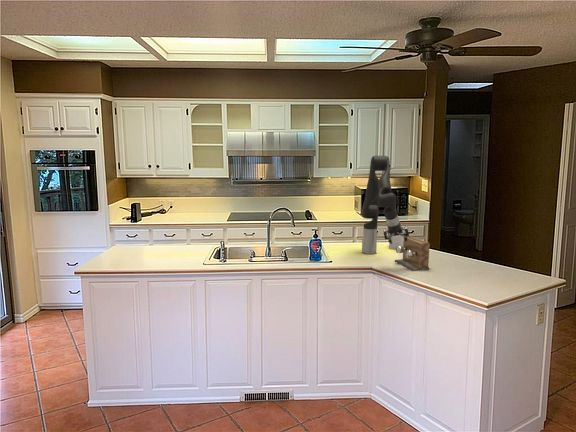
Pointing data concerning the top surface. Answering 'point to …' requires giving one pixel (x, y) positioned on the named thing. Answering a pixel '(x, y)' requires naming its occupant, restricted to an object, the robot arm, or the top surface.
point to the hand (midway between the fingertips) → (398, 241)
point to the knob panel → (417, 260)
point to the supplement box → (396, 241)
